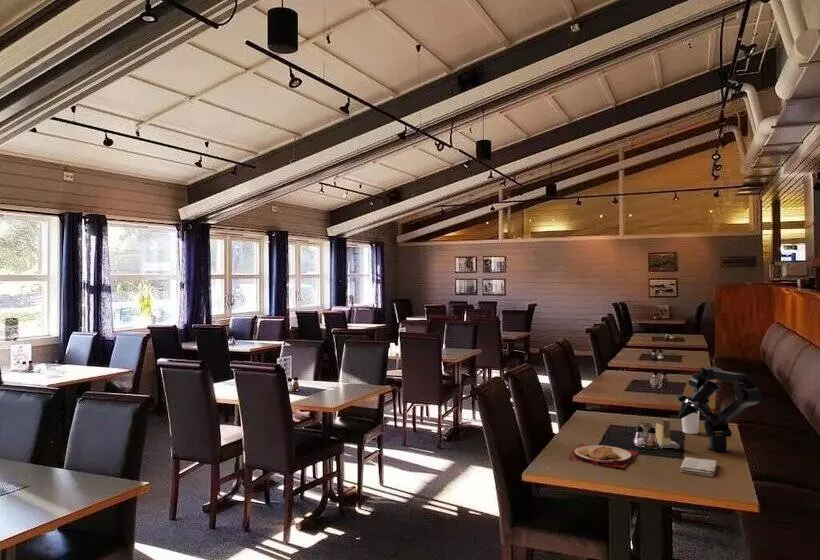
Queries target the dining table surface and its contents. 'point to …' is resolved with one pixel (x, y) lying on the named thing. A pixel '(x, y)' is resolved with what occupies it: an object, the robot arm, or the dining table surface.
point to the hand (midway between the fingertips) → (679, 418)
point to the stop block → (665, 426)
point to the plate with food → (604, 455)
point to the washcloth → (698, 466)
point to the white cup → (691, 423)
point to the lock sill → (664, 441)
